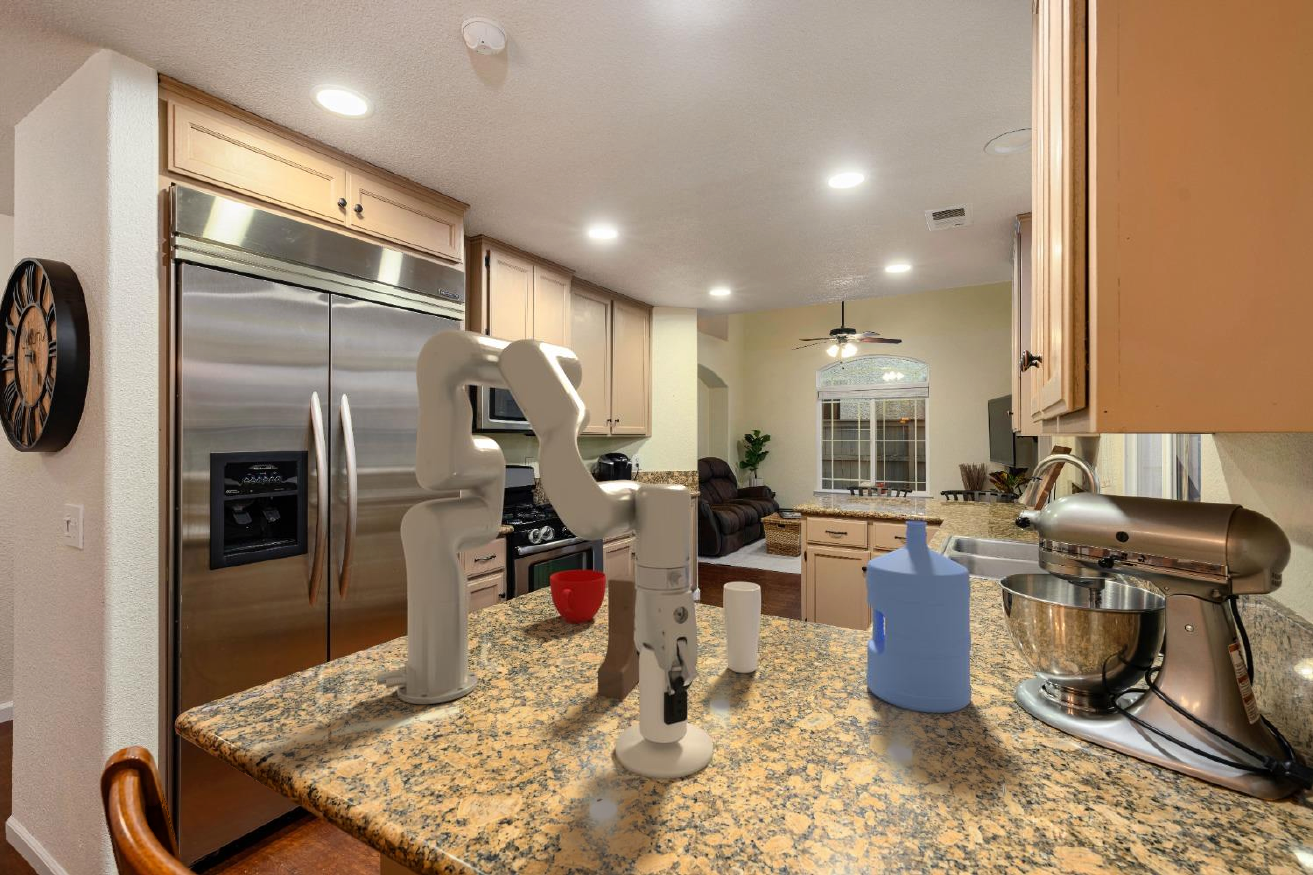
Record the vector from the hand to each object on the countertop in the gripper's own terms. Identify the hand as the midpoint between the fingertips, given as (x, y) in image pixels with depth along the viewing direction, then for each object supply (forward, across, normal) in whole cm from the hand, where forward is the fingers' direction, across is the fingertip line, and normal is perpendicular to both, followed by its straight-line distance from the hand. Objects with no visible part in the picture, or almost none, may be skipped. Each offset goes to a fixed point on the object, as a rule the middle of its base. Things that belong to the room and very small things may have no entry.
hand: (662, 709), depth 78 cm
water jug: (+6, -4, -45) cm, 46 cm away
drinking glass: (+6, +18, -26) cm, 32 cm away
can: (+3, 0, 0) cm, 3 cm away
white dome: (+5, 0, 0) cm, 5 cm away
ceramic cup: (+6, +59, -9) cm, 60 cm away
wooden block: (+6, +21, -3) cm, 22 cm away
